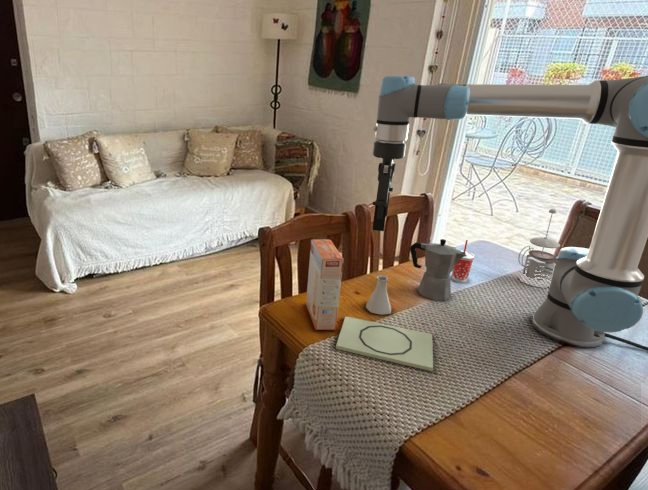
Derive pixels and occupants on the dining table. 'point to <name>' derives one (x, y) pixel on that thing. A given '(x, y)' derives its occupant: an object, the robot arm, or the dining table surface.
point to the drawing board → (386, 343)
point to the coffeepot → (436, 268)
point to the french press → (540, 256)
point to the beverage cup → (463, 267)
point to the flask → (379, 298)
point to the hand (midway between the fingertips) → (380, 222)
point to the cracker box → (324, 284)
